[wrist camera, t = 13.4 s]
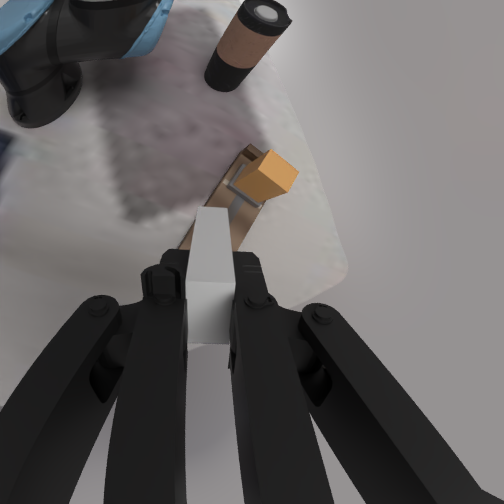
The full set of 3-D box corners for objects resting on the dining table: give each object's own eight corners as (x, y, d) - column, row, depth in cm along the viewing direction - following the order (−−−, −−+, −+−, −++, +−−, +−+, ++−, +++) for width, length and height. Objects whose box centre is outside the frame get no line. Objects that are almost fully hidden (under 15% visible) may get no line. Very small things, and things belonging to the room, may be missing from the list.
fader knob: (255, 208, 44) (289, 197, 35) (226, 186, 42) (253, 169, 33) (268, 187, 45) (302, 172, 36) (239, 166, 43) (269, 144, 33)
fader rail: (209, 291, 44) (217, 295, 40) (167, 266, 41) (170, 268, 37) (274, 178, 48) (287, 172, 44) (240, 152, 46) (250, 143, 41)
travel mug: (194, 79, 42) (232, 5, 23) (216, 57, 43) (258, -10, 25) (228, 100, 44) (280, 34, 26) (247, 77, 46) (300, 16, 28)
